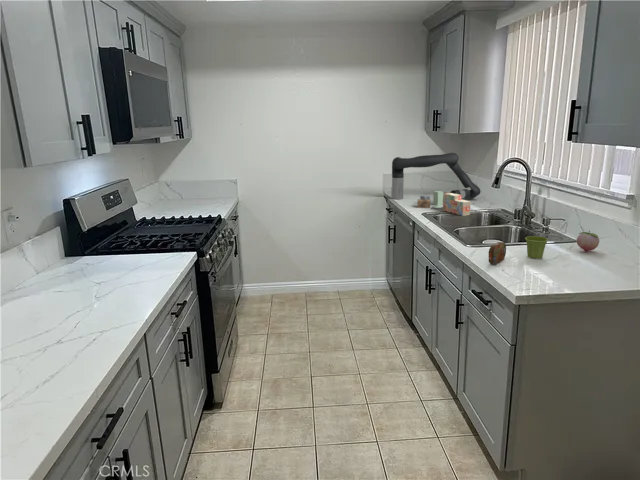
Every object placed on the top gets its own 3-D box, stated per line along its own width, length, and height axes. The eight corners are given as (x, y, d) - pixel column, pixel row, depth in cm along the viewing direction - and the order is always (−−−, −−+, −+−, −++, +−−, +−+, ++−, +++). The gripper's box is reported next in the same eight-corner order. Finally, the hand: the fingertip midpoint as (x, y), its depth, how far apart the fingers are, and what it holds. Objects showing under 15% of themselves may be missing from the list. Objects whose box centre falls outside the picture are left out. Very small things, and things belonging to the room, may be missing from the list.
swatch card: (431, 208, 315) (431, 207, 315) (431, 207, 321) (432, 206, 321) (444, 209, 312) (444, 208, 312) (444, 207, 318) (444, 206, 318)
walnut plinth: (417, 208, 320) (417, 201, 319) (417, 205, 329) (417, 199, 328) (430, 208, 319) (430, 201, 317) (429, 206, 327) (430, 199, 326)
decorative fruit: (601, 252, 205) (604, 231, 202) (592, 255, 201) (595, 234, 198) (581, 247, 213) (583, 227, 210) (572, 250, 208) (574, 230, 206)
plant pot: (518, 255, 204) (520, 237, 202) (536, 253, 206) (538, 235, 204) (532, 261, 195) (534, 242, 193) (550, 259, 197) (553, 240, 195)
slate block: (424, 204, 332) (424, 196, 330) (420, 203, 336) (420, 195, 335) (429, 203, 334) (429, 196, 333) (425, 202, 338) (425, 195, 337)
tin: (493, 266, 189) (494, 248, 187) (486, 265, 191) (487, 246, 189) (506, 258, 200) (507, 240, 198) (499, 257, 202) (500, 239, 200)
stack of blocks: (470, 215, 292) (471, 196, 288) (462, 216, 289) (463, 197, 286) (449, 209, 311) (450, 192, 308) (442, 210, 309) (443, 193, 306)
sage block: (437, 205, 326) (438, 192, 324) (433, 204, 330) (433, 191, 328) (442, 204, 328) (443, 191, 326) (438, 204, 333) (438, 190, 330)
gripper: (451, 188, 341) (435, 190, 334) (464, 190, 329) (448, 192, 322) (450, 198, 343) (434, 200, 336) (464, 200, 331) (447, 202, 324)
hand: (441, 196), depth 329 cm, fingers open, 8 cm apart
